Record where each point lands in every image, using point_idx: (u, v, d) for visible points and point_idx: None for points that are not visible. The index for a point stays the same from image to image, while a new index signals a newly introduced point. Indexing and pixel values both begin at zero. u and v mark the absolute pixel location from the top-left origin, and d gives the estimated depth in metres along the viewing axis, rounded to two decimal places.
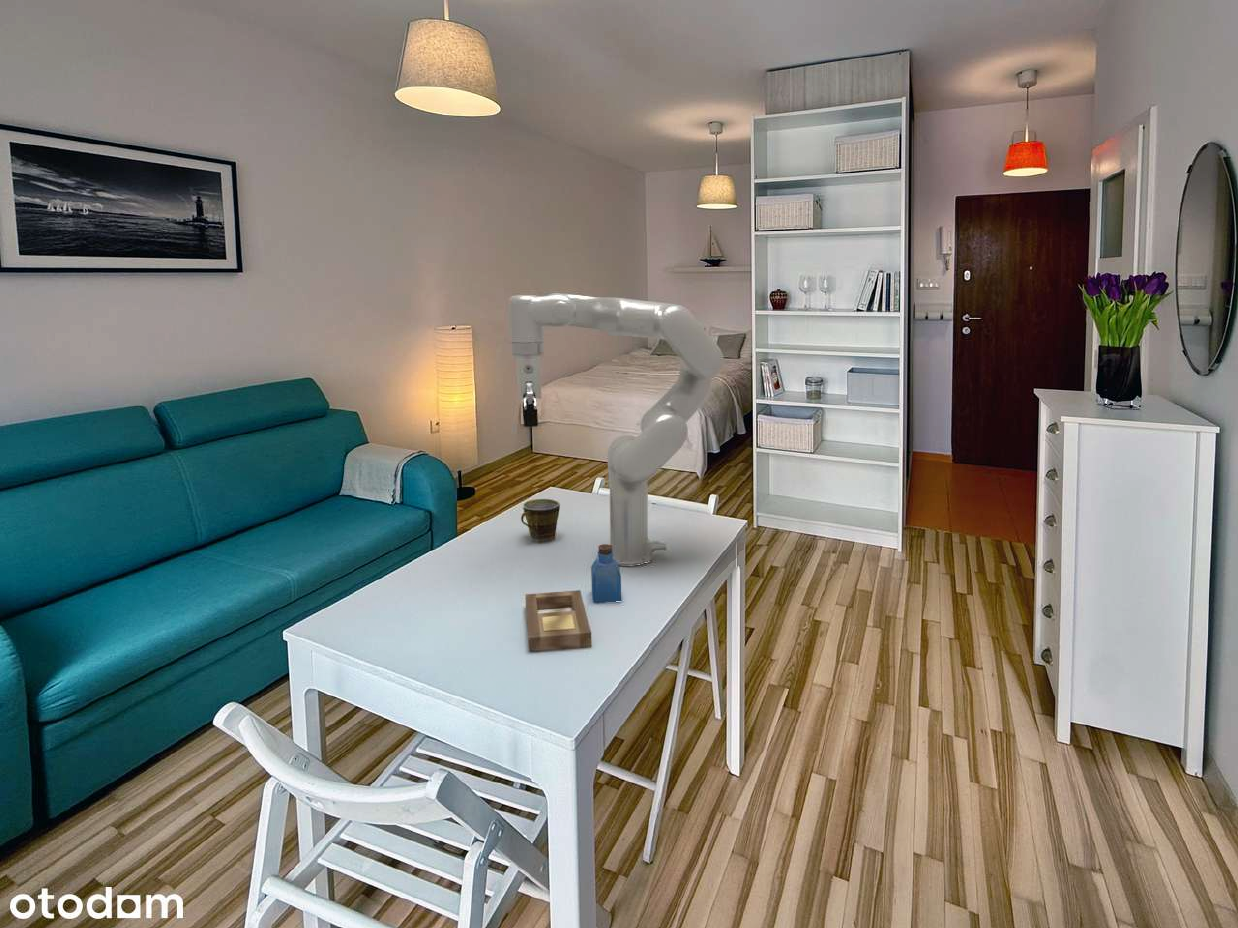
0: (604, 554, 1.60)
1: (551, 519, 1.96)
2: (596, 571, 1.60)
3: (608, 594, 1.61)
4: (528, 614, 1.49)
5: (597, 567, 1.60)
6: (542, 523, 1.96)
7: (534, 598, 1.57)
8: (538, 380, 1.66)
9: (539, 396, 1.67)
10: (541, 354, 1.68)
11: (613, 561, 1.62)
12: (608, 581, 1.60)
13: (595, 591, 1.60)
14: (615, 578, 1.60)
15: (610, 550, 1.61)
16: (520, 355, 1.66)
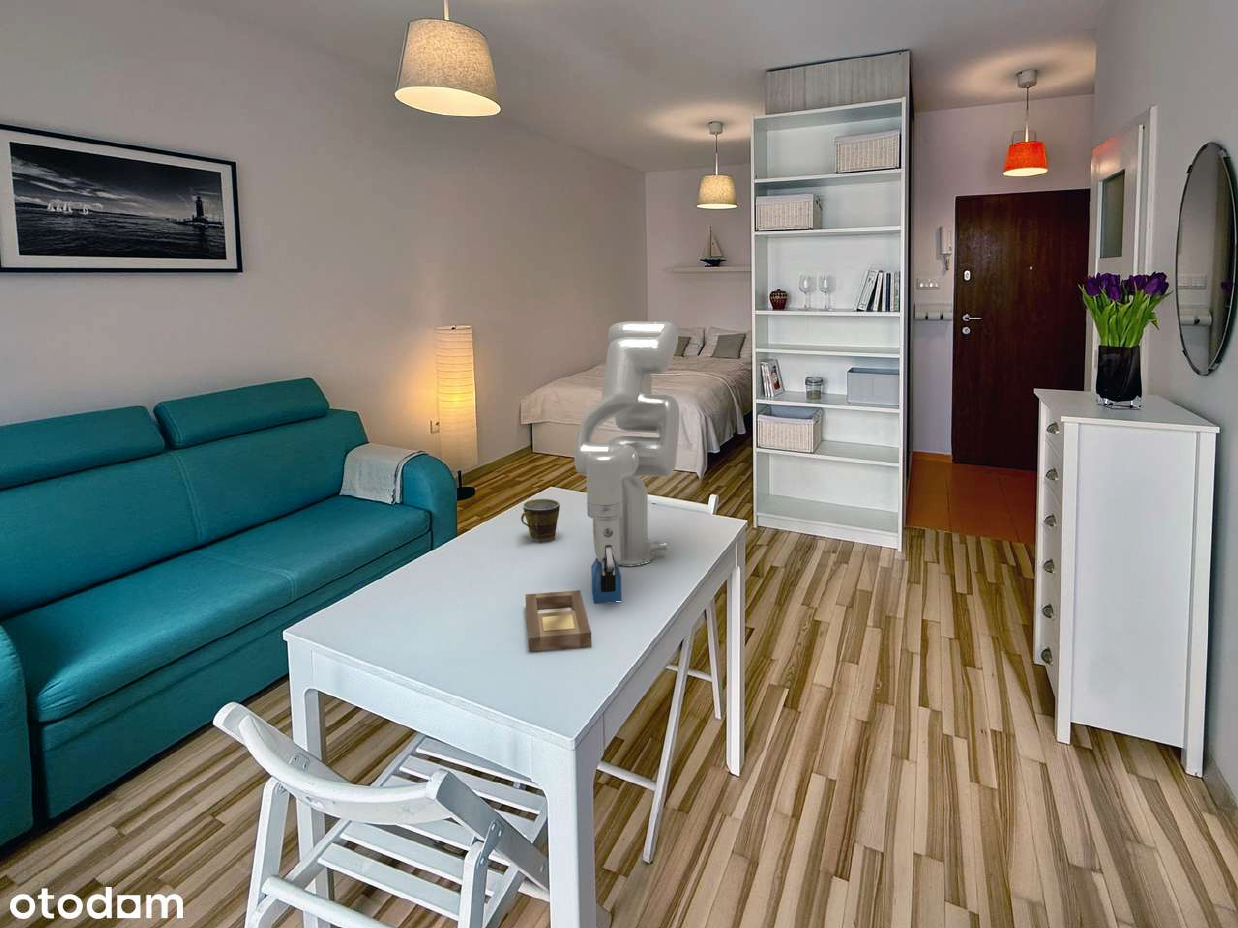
0: None
1: (551, 519, 1.96)
2: (596, 571, 1.60)
3: (608, 594, 1.61)
4: (528, 614, 1.49)
5: (597, 567, 1.60)
6: (542, 523, 1.96)
7: (534, 598, 1.57)
8: (618, 543, 1.56)
9: (618, 559, 1.57)
10: (620, 514, 1.58)
11: None
12: None
13: (595, 591, 1.60)
14: (616, 578, 1.60)
15: None
16: (599, 517, 1.56)
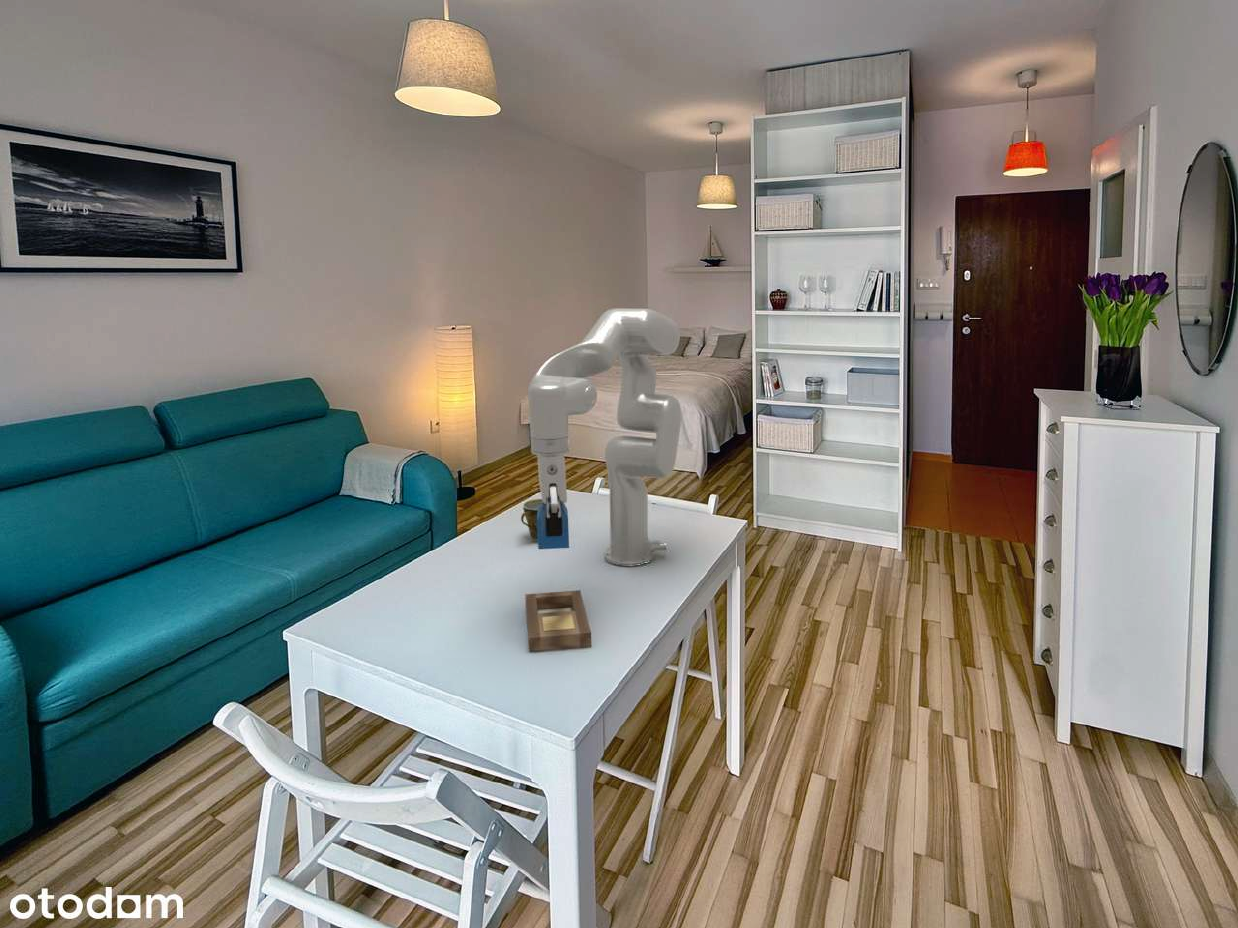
0: None
1: None
2: (541, 513, 1.46)
3: (555, 539, 1.47)
4: (528, 614, 1.49)
5: (542, 509, 1.46)
6: None
7: (534, 598, 1.57)
8: (563, 482, 1.43)
9: (564, 500, 1.44)
10: (566, 450, 1.44)
11: (560, 503, 1.48)
12: None
13: (540, 535, 1.47)
14: (562, 521, 1.47)
15: None
16: (542, 453, 1.42)
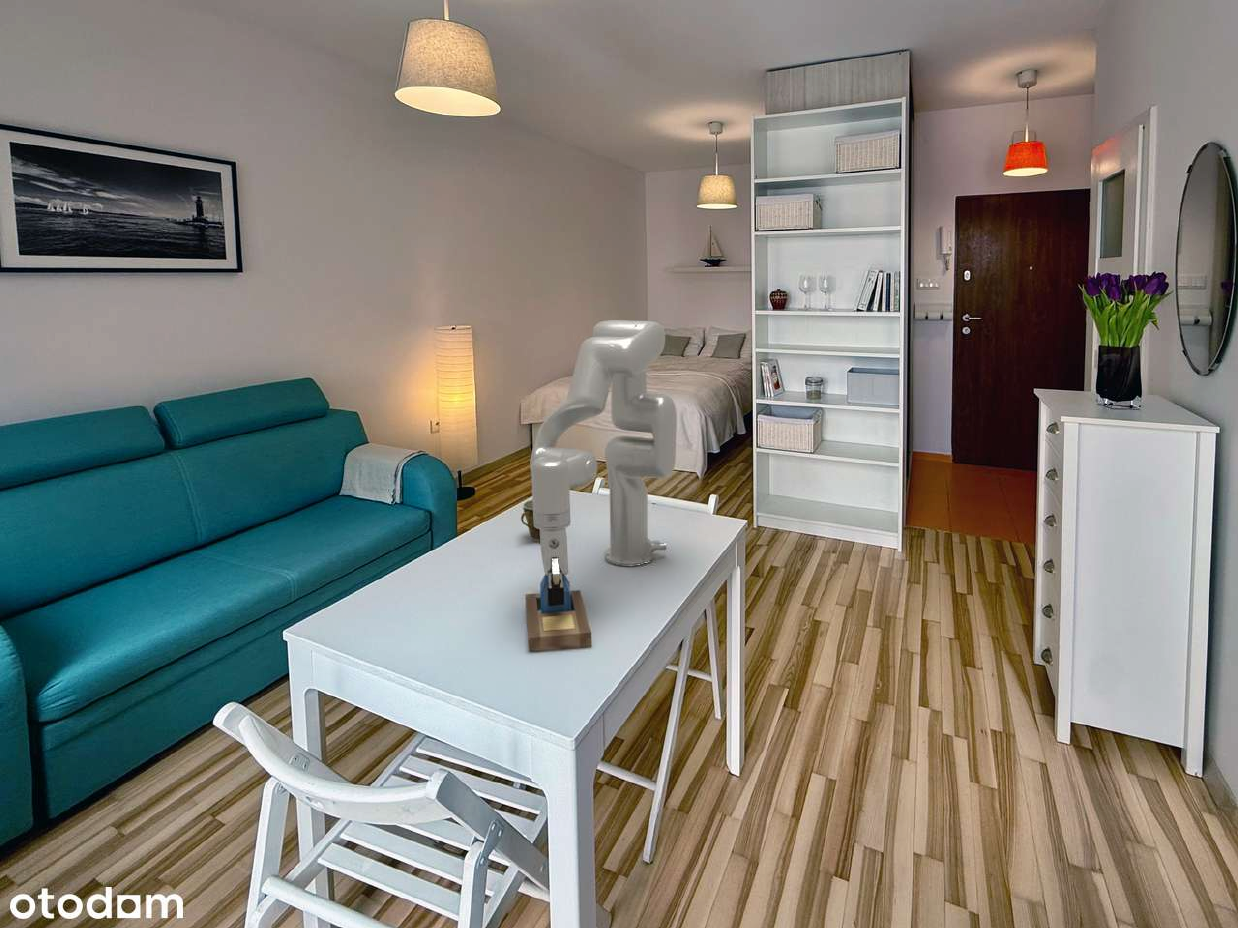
0: (552, 571, 1.51)
1: None
2: (544, 589, 1.50)
3: None
4: (528, 614, 1.49)
5: (545, 585, 1.51)
6: None
7: (534, 598, 1.57)
8: (565, 555, 1.47)
9: (566, 572, 1.47)
10: (568, 524, 1.48)
11: (562, 578, 1.52)
12: None
13: (543, 610, 1.51)
14: (565, 596, 1.51)
15: None
16: (544, 527, 1.46)
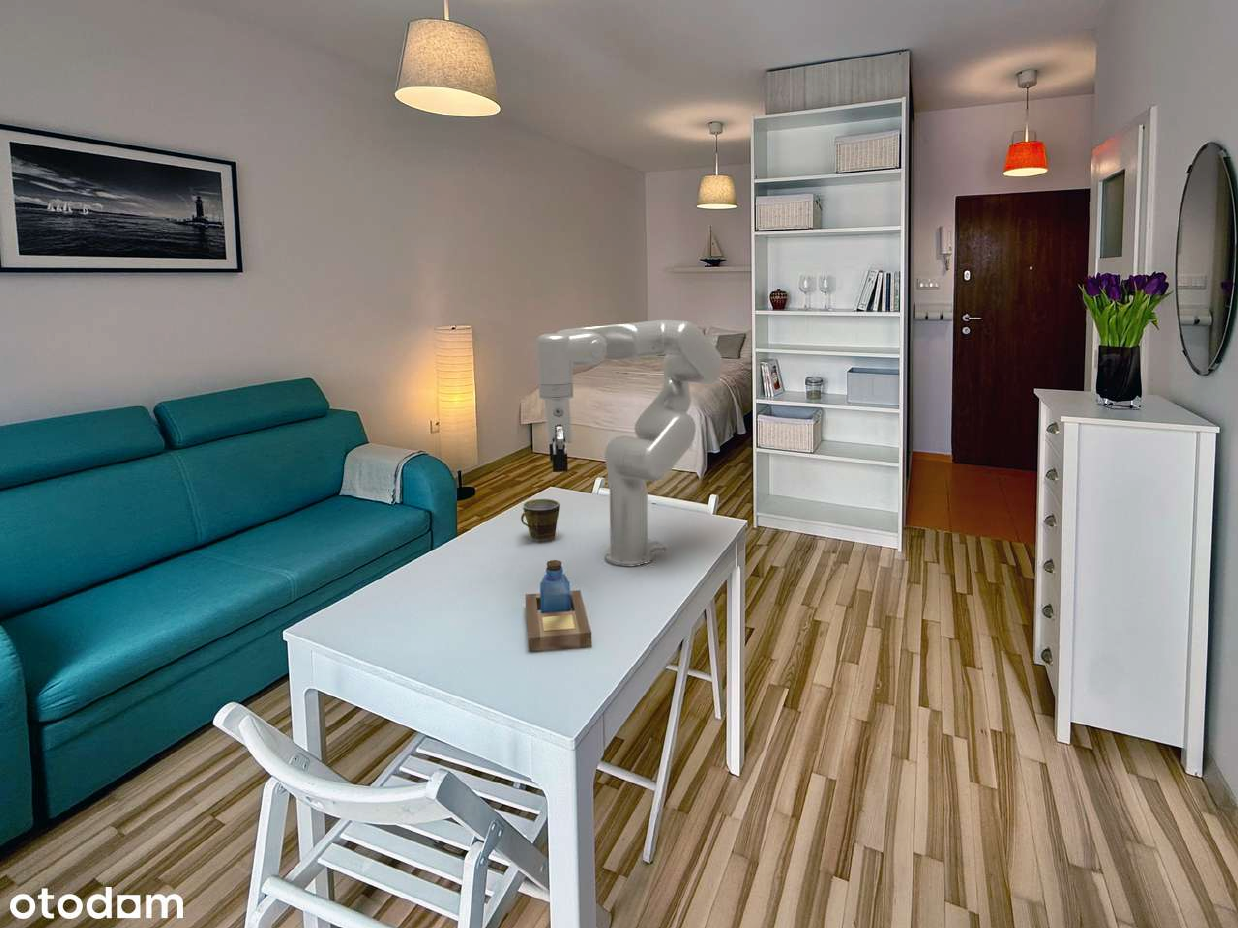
0: (552, 571, 1.51)
1: (551, 519, 1.96)
2: (544, 589, 1.50)
3: None
4: (528, 614, 1.49)
5: (545, 585, 1.51)
6: (542, 524, 1.96)
7: (534, 598, 1.57)
8: (568, 423, 1.58)
9: (569, 440, 1.59)
10: (571, 396, 1.60)
11: (562, 578, 1.52)
12: (556, 599, 1.51)
13: (543, 610, 1.51)
14: (565, 596, 1.51)
15: (559, 566, 1.51)
16: (549, 397, 1.58)
